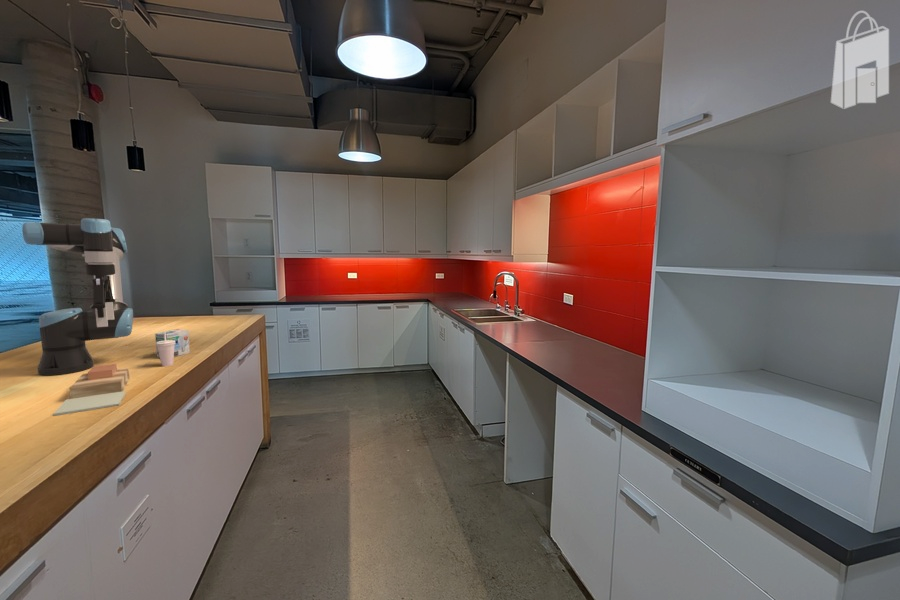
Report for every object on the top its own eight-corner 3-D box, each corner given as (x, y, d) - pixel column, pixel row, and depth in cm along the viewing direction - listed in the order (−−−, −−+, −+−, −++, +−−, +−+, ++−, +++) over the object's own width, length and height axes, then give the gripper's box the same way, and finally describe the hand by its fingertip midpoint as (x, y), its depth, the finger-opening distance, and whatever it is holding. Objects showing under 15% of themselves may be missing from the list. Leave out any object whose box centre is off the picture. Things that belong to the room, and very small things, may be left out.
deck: (84, 384, 129) (82, 373, 129) (129, 379, 136) (128, 368, 135) (70, 400, 116) (69, 388, 115) (121, 393, 122) (120, 381, 122)
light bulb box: (168, 359, 161) (166, 334, 159) (156, 357, 162) (154, 333, 161) (190, 352, 171) (189, 329, 170) (178, 351, 173) (177, 328, 171)
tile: (94, 373, 129) (93, 366, 129) (117, 370, 133) (116, 363, 132) (88, 379, 123) (87, 372, 122) (112, 376, 126) (111, 369, 126)
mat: (66, 401, 115) (66, 399, 115) (125, 392, 123) (125, 390, 123) (53, 415, 105) (53, 413, 105) (119, 405, 113) (119, 403, 113)
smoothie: (155, 368, 148) (153, 333, 147) (159, 363, 154) (156, 330, 152) (175, 366, 151) (173, 332, 150) (178, 361, 157) (176, 329, 155)
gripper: (92, 261, 139) (98, 317, 142) (76, 265, 118) (83, 331, 121) (119, 261, 143) (124, 316, 146) (108, 265, 123) (114, 328, 126)
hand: (106, 323), depth 134 cm, fingers open, 13 cm apart
